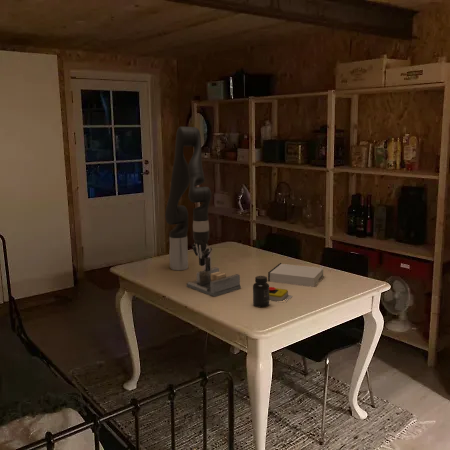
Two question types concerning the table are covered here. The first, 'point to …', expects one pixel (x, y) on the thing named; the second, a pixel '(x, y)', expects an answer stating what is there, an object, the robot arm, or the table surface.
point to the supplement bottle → (261, 292)
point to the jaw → (206, 273)
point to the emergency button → (278, 294)
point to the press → (218, 286)
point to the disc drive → (295, 275)
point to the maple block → (217, 276)
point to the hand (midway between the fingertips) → (202, 265)
